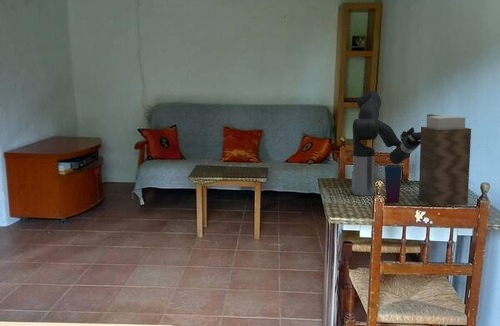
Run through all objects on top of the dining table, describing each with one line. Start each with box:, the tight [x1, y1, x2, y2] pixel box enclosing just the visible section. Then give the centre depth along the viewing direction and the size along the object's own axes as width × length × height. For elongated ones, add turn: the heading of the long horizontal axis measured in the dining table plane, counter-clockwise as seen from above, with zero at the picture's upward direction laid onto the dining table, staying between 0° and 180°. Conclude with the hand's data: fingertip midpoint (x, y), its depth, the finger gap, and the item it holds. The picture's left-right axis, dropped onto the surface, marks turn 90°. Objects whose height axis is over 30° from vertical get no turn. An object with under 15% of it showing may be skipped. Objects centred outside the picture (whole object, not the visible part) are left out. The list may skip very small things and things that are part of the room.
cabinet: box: [418, 126, 472, 206], centre depth 188 cm, size 14×14×30 cm
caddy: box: [426, 113, 466, 130], centre depth 190 cm, size 11×21×6 cm, turn 2°
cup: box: [384, 163, 403, 204], centre depth 191 cm, size 7×7×15 cm
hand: (422, 128), depth 208 cm, fingers open, 8 cm apart
